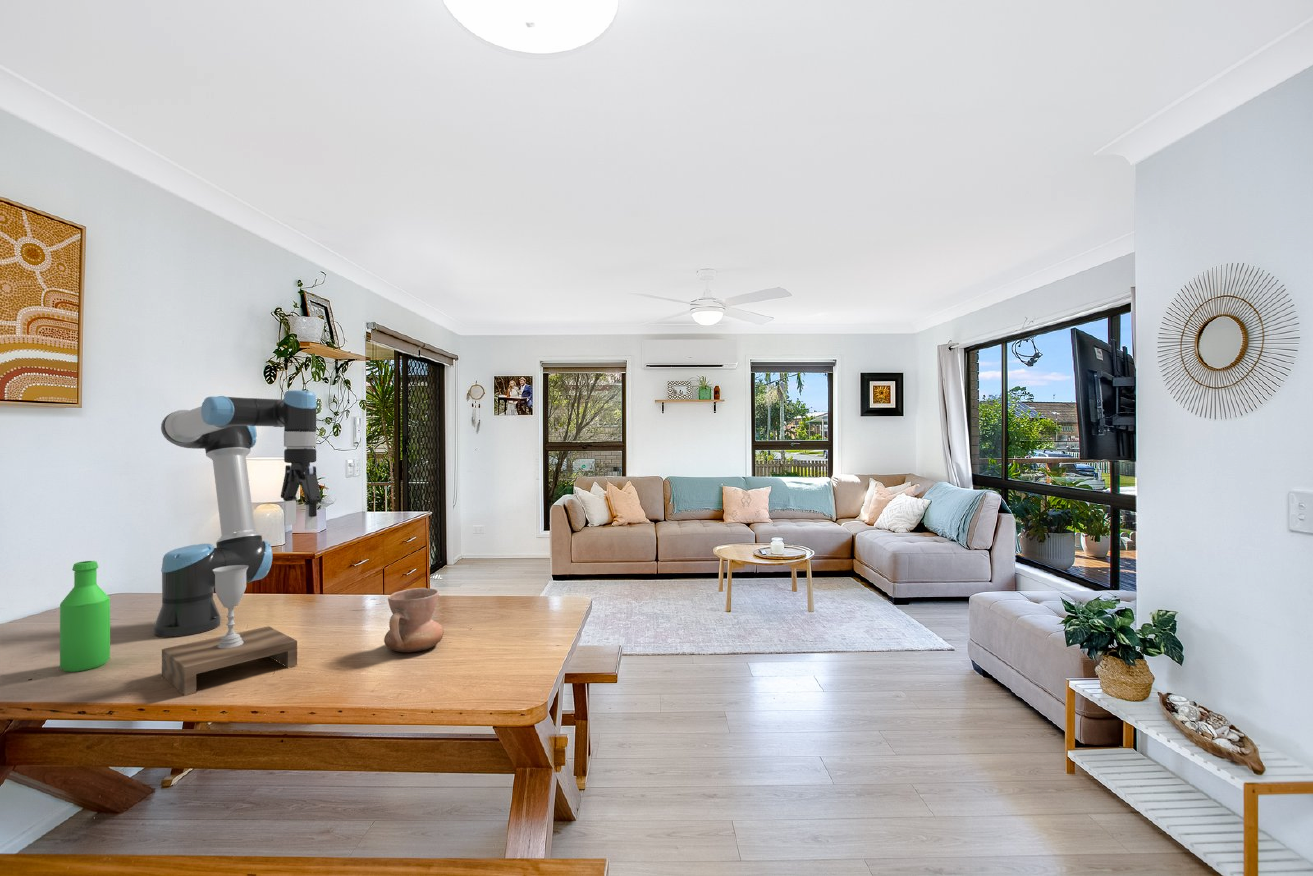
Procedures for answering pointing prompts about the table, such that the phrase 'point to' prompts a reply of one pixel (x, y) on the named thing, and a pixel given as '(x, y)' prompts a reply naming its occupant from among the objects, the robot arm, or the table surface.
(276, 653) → the walnut shelf
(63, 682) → the table surface
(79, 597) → the bottle
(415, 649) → the ceramic jug
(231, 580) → the chalice
